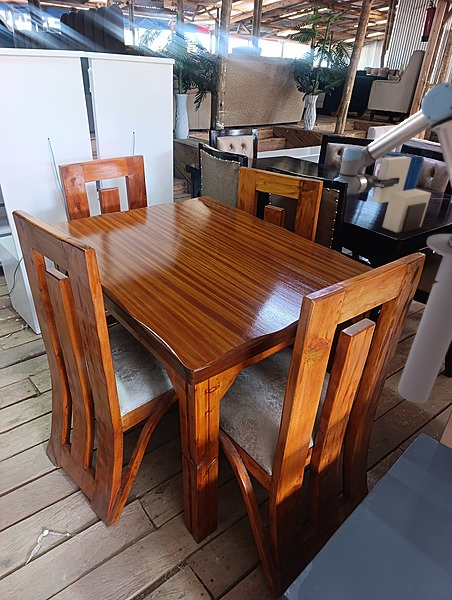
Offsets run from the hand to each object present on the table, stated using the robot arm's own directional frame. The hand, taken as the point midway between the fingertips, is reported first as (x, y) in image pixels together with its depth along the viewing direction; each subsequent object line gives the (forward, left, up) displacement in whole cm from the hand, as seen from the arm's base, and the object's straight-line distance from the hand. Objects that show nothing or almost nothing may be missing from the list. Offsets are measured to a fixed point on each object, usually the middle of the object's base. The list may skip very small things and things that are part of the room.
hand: (394, 179), depth 191 cm
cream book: (0, +2, -10) cm, 10 cm away
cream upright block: (-15, +7, -18) cm, 24 cm away
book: (+19, -31, -18) cm, 41 cm away
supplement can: (+37, -41, -18) cm, 58 cm away
